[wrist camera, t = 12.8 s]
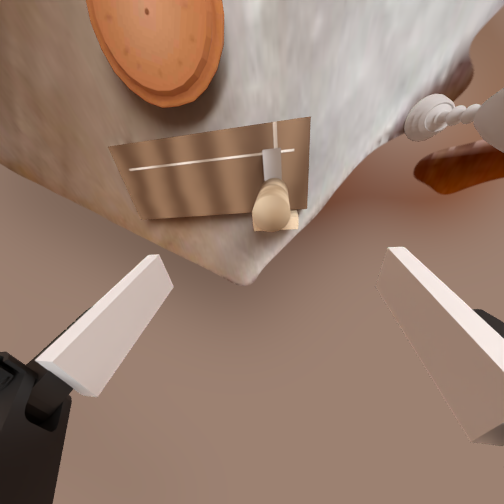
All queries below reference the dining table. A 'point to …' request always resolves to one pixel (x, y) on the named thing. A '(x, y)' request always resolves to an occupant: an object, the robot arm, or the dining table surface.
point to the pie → (161, 45)
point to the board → (213, 169)
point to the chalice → (457, 118)
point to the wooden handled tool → (273, 198)
